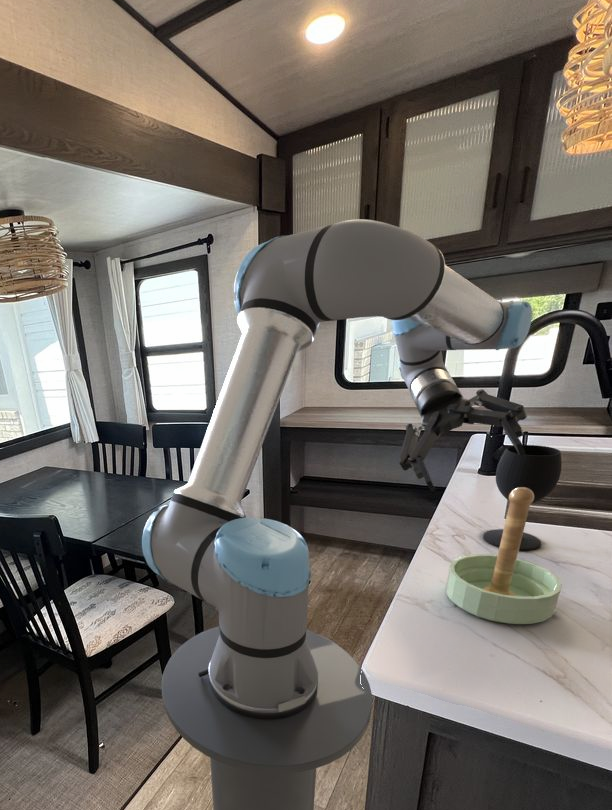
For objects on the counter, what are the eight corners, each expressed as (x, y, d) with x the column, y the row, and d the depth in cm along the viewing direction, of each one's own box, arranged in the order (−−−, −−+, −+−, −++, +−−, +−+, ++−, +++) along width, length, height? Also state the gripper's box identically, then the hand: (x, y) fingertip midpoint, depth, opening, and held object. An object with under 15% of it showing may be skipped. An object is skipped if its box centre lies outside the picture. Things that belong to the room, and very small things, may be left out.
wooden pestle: (489, 604, 79) (515, 492, 71) (477, 591, 83) (500, 483, 75) (518, 605, 79) (547, 491, 70) (504, 591, 83) (531, 482, 74)
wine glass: (475, 542, 102) (494, 452, 94) (490, 527, 108) (509, 441, 100) (534, 555, 95) (559, 459, 86) (546, 538, 101) (571, 447, 93)
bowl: (467, 627, 76) (473, 598, 73) (432, 580, 90) (436, 554, 87) (574, 629, 73) (584, 599, 71) (521, 580, 87) (528, 553, 85)
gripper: (514, 376, 87) (568, 447, 74) (380, 440, 101) (405, 511, 87) (504, 346, 83) (559, 416, 70) (366, 417, 97) (390, 487, 83)
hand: (474, 469), depth 78 cm, fingers open, 13 cm apart
